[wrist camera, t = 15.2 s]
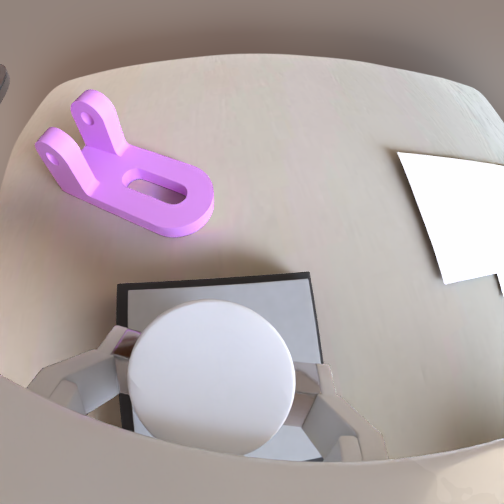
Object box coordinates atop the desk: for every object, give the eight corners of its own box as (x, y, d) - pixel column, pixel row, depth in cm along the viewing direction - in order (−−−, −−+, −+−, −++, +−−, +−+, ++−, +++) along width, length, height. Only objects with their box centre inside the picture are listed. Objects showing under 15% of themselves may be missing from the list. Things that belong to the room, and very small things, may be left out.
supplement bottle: (151, 381, 14) (74, 377, 6) (212, 313, 16) (199, 242, 8) (225, 443, 13) (225, 509, 5) (286, 373, 15) (350, 362, 7)
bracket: (63, 191, 22) (28, 137, 16) (99, 144, 25) (77, 87, 18) (192, 249, 21) (179, 191, 15) (226, 188, 24) (227, 122, 17)
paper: (515, 162, 30) (519, 158, 29) (563, 273, 24) (569, 270, 23) (388, 154, 27) (392, 147, 26) (455, 330, 20) (464, 327, 19)
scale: (137, 468, 15) (124, 479, 12) (126, 292, 20) (112, 279, 17) (324, 454, 16) (339, 464, 14) (302, 281, 21) (312, 266, 18)
